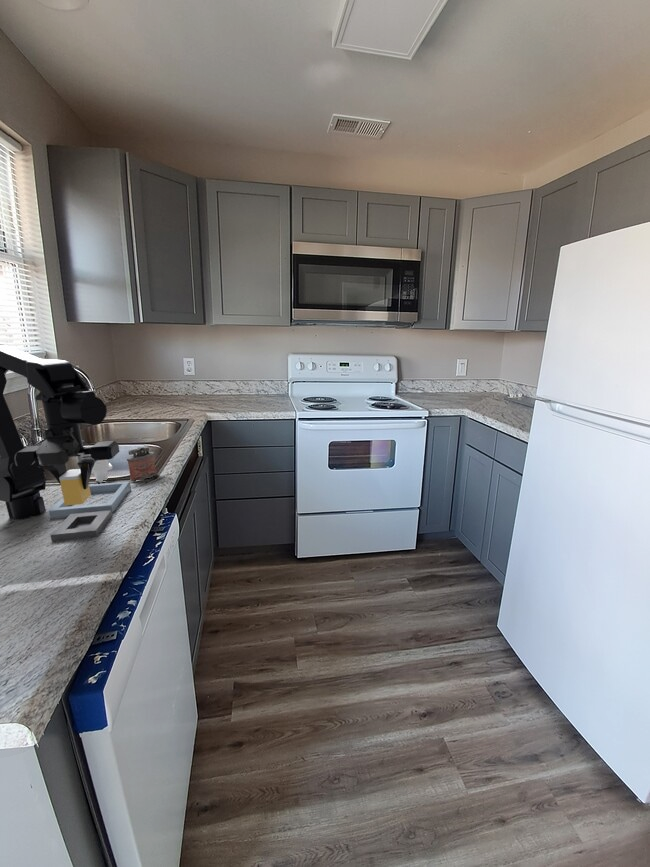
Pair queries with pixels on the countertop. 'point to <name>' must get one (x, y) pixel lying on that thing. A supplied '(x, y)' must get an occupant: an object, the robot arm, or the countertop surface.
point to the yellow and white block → (73, 488)
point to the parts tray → (95, 489)
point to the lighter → (141, 463)
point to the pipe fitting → (101, 469)
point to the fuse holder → (81, 525)
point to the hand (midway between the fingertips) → (76, 489)
